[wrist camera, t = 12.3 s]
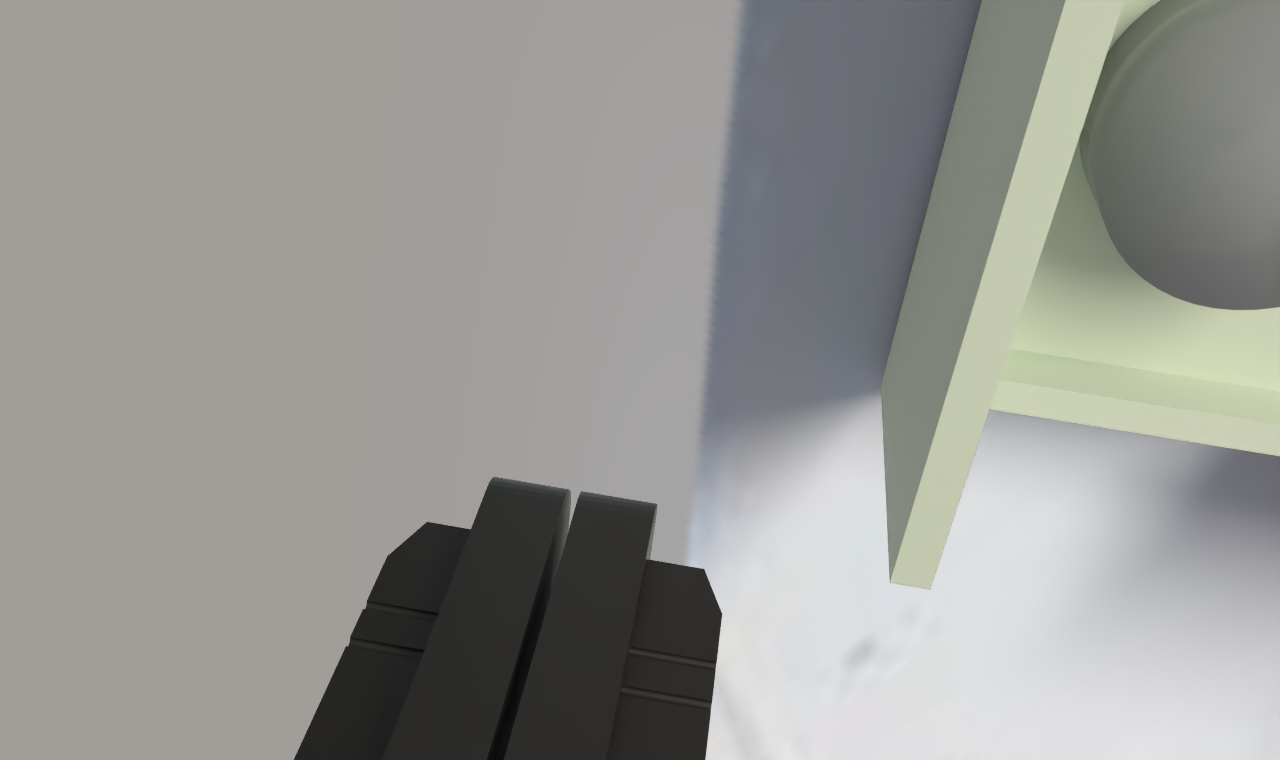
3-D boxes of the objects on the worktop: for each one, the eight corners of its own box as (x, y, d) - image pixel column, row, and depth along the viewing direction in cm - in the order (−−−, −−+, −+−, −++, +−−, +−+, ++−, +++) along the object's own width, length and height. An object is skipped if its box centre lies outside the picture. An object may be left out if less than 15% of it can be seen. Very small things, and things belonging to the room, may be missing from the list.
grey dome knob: (1468, -14, 22) (1529, 27, 20) (1329, 272, 25) (1370, 332, 23) (1134, -59, 22) (1163, -23, 20) (1042, 229, 26) (1058, 285, 24)
